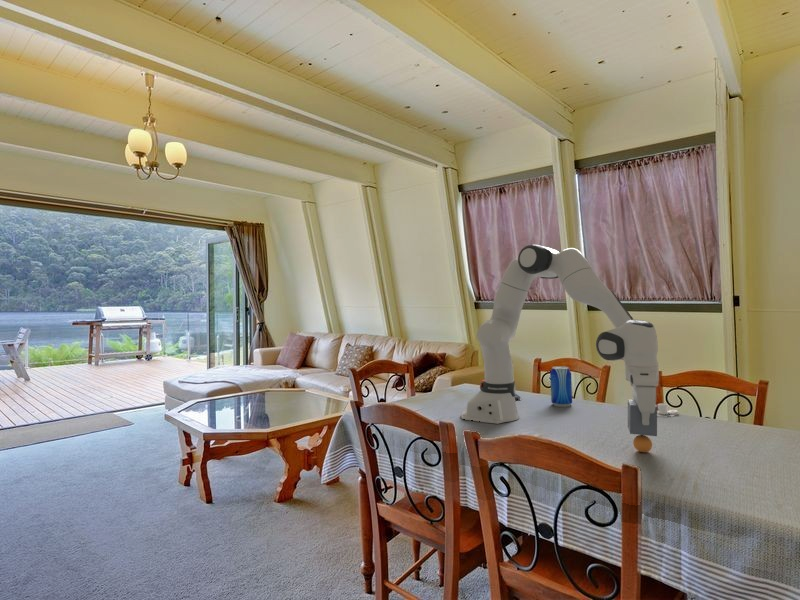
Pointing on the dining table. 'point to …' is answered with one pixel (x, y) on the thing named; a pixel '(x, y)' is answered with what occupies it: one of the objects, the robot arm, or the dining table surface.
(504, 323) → the robot arm
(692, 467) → the dining table surface
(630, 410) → the grey rectangular block
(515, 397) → the woven mat
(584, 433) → the dining table surface
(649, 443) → the ball
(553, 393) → the beer can
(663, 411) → the teacup and saucer
